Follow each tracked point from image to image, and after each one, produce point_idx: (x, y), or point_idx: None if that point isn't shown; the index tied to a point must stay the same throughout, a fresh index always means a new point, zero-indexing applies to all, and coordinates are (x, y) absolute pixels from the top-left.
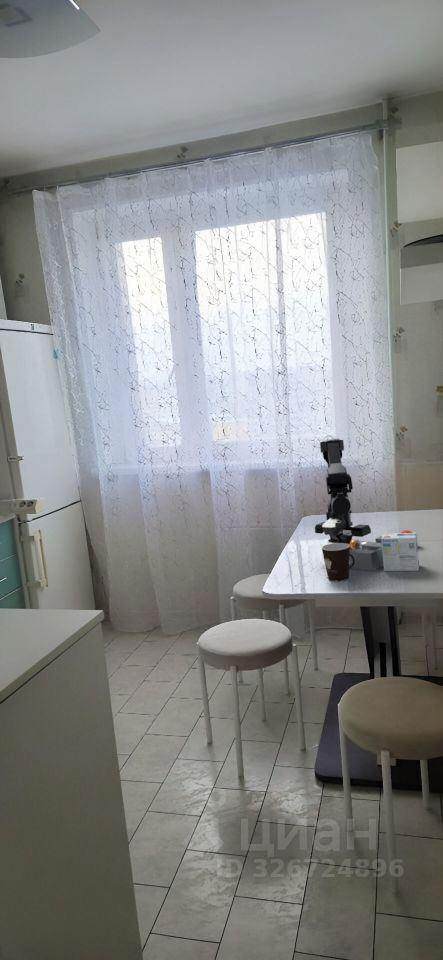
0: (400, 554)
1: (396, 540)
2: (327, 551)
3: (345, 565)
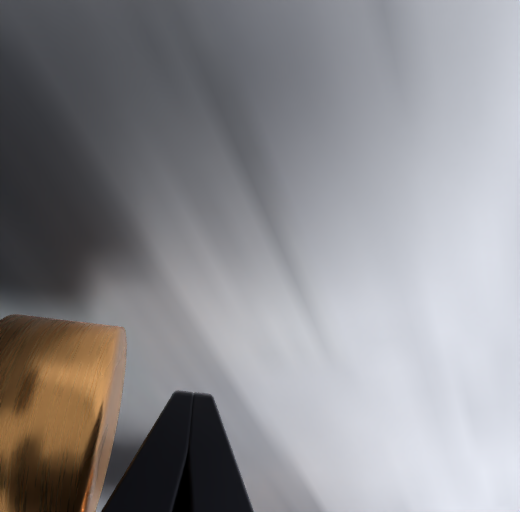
0: None
1: None
2: None
3: None
